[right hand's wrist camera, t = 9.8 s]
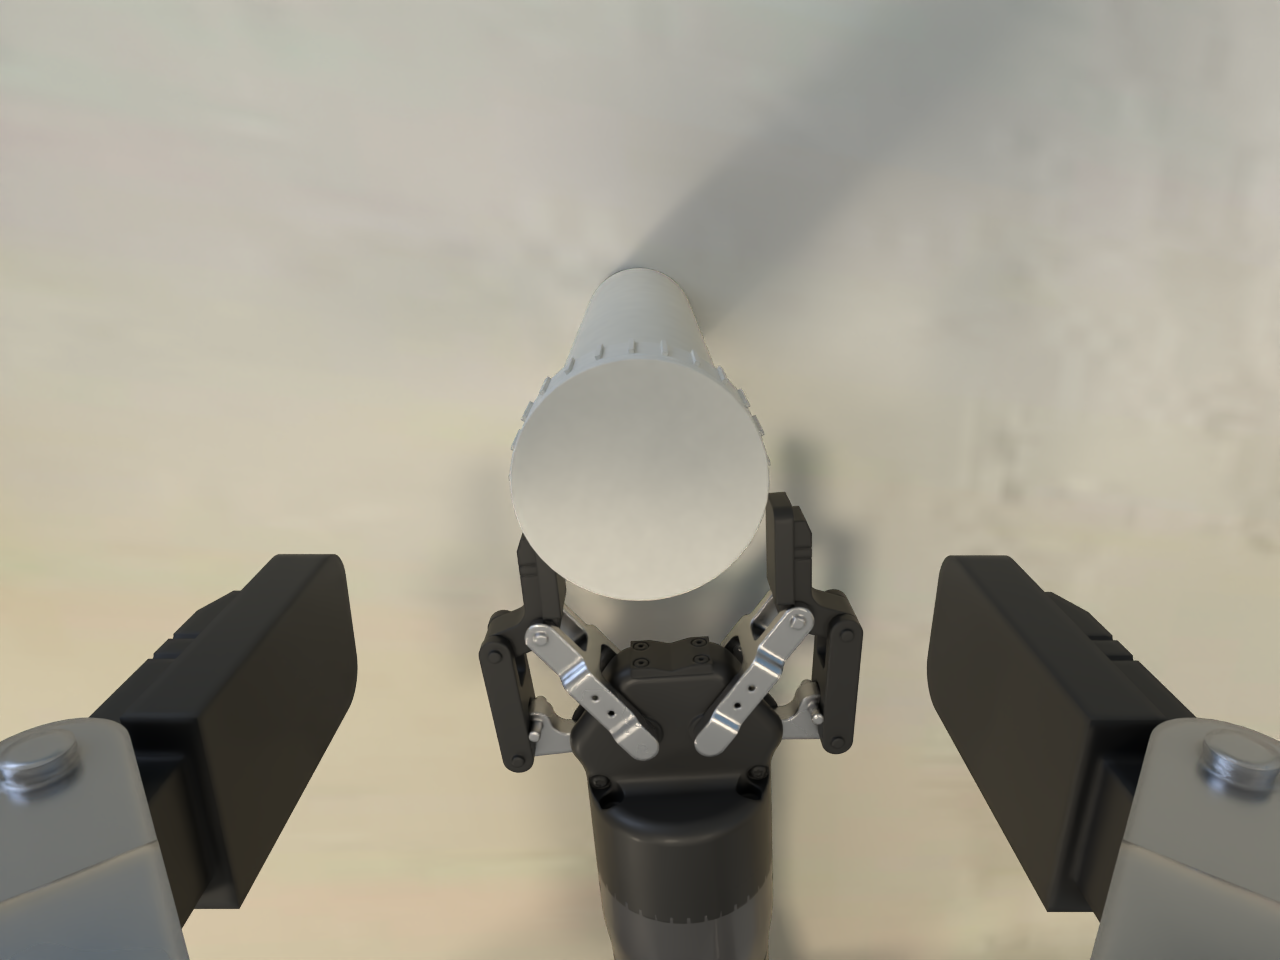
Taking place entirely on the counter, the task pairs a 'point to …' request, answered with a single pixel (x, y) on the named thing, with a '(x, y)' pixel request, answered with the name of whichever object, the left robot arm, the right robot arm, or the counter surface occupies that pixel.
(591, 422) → the lid
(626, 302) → the white cylindrical bottle
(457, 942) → the counter surface
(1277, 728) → the counter surface
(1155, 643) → the counter surface
